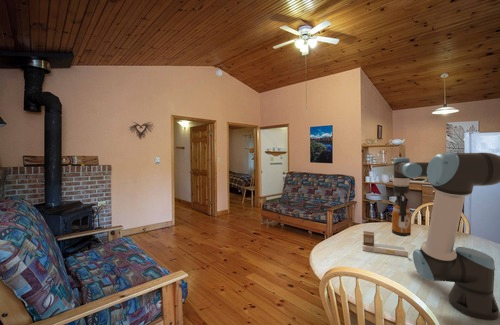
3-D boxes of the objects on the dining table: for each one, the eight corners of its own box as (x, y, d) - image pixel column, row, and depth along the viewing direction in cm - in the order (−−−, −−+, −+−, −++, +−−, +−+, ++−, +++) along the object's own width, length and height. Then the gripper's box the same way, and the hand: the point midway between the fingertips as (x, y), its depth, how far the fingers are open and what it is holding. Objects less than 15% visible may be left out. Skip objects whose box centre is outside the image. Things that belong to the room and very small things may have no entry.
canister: (395, 236, 134) (396, 200, 133) (388, 230, 144) (388, 196, 143) (413, 237, 132) (414, 201, 131) (405, 230, 143) (405, 196, 142)
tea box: (374, 249, 154) (374, 235, 154) (363, 247, 157) (363, 234, 156) (373, 245, 160) (373, 232, 159) (363, 244, 162) (363, 231, 162)
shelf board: (407, 258, 143) (408, 251, 143) (362, 252, 153) (362, 245, 153) (403, 249, 156) (403, 242, 156) (362, 243, 166) (362, 238, 166)
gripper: (413, 189, 124) (412, 231, 126) (405, 182, 146) (404, 219, 147) (396, 188, 127) (395, 229, 129) (390, 182, 149) (390, 217, 150)
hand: (400, 224), depth 138 cm, fingers closed on canister, 11 cm apart
